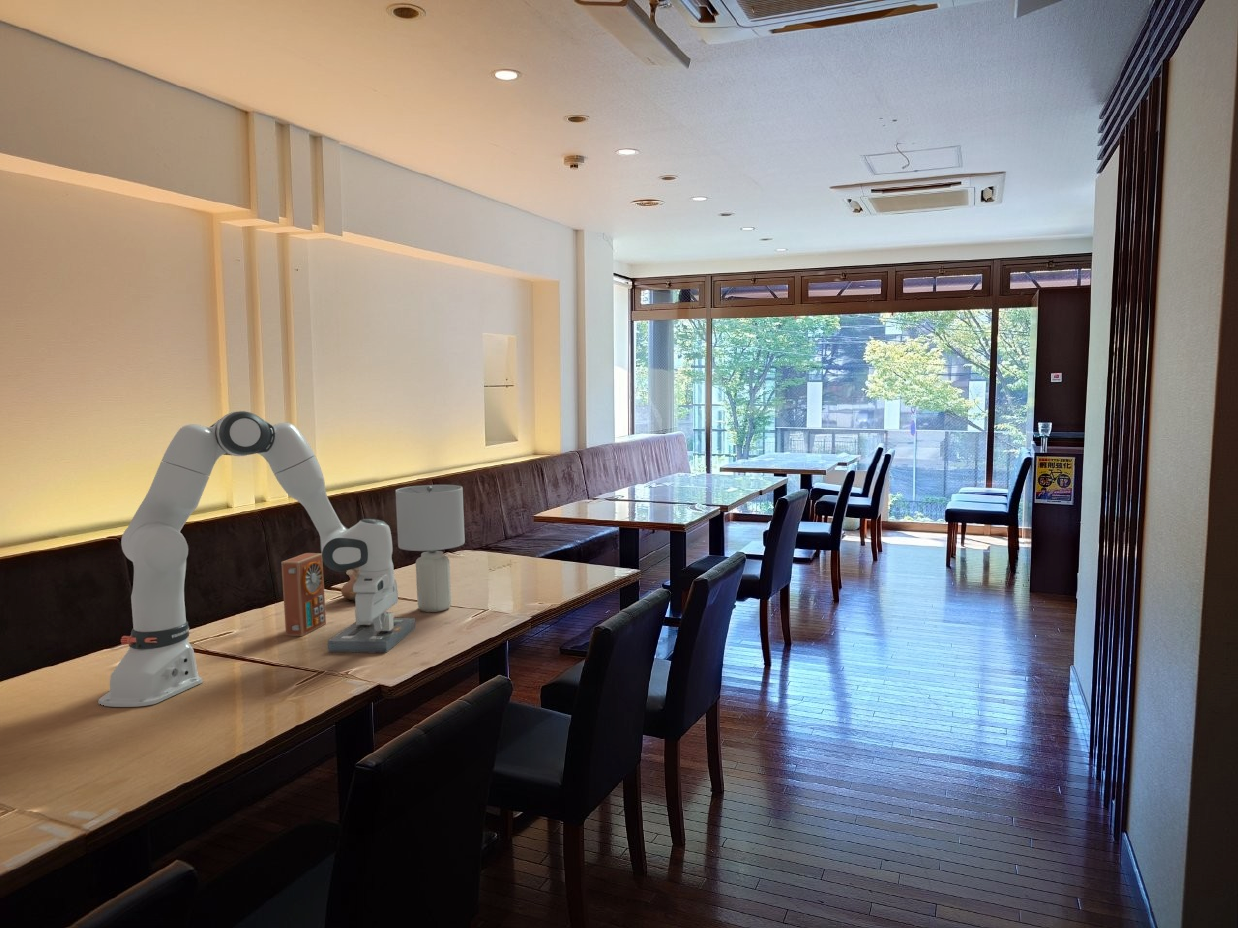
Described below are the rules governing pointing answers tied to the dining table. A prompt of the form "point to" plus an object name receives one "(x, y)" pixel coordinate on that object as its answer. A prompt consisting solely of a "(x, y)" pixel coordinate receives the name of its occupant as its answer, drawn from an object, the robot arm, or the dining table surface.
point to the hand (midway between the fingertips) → (379, 628)
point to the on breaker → (361, 622)
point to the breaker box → (370, 637)
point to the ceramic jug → (350, 584)
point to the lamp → (431, 537)
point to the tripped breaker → (388, 622)
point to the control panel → (303, 594)
